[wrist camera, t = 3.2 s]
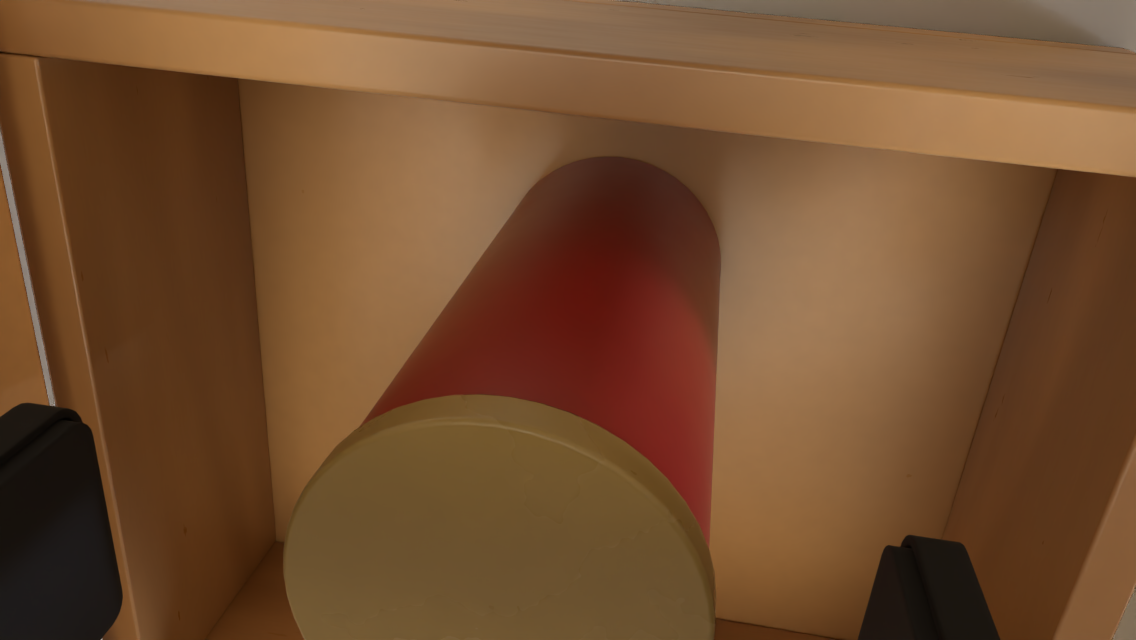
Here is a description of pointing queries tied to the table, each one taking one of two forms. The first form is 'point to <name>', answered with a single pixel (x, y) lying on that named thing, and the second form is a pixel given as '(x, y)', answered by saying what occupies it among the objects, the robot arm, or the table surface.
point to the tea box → (486, 201)
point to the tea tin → (537, 438)
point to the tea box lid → (16, 325)
